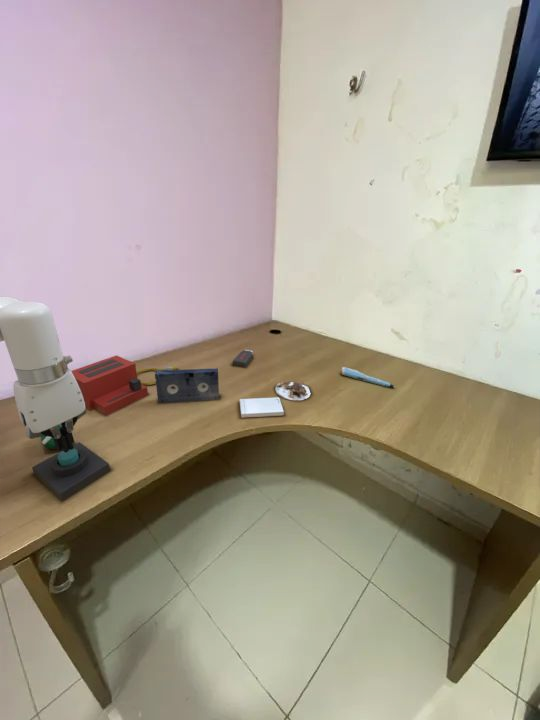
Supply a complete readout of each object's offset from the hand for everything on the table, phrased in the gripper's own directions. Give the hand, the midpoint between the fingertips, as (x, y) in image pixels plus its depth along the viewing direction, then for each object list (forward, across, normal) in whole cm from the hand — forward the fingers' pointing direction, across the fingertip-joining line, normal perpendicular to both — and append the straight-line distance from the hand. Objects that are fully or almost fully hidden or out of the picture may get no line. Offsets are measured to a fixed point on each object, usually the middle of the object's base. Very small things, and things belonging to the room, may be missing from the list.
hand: (66, 448), depth 65 cm
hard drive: (+7, -45, +19) cm, 49 cm away
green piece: (+7, -3, -13) cm, 15 cm away
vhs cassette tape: (+7, -36, -2) cm, 37 cm away
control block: (+7, 0, 0) cm, 7 cm away
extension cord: (+7, -39, -22) cm, 45 cm away
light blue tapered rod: (+8, -83, +39) cm, 92 cm away
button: (+3, 0, 0) cm, 3 cm away
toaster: (+7, -23, -22) cm, 33 cm away
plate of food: (+8, -60, +22) cm, 64 cm away
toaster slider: (+4, -27, -16) cm, 31 cm away
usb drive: (+7, -69, -6) cm, 70 cm away
